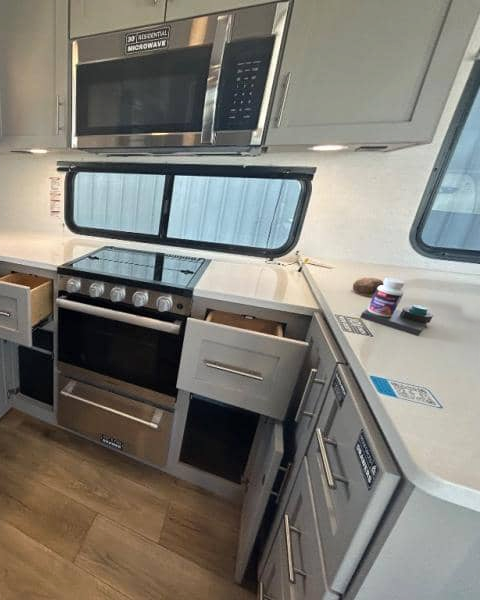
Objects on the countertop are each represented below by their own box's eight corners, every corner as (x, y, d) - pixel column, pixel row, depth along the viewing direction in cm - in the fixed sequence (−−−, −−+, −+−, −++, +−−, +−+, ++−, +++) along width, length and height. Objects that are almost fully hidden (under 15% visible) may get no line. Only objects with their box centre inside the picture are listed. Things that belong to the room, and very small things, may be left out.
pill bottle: (365, 312, 91) (380, 279, 87) (368, 307, 94) (383, 275, 91) (390, 319, 87) (407, 285, 84) (393, 314, 91) (409, 281, 87)
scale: (428, 325, 90) (434, 313, 88) (420, 337, 83) (426, 324, 81) (371, 308, 99) (376, 297, 97) (359, 318, 91) (364, 306, 90)
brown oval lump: (384, 284, 110) (380, 270, 108) (388, 300, 105) (385, 285, 103) (353, 289, 116) (349, 276, 113) (356, 304, 111) (352, 290, 108)
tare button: (425, 314, 89) (428, 308, 88) (423, 316, 87) (427, 310, 86) (411, 309, 91) (414, 304, 90) (408, 312, 89) (411, 306, 88)
